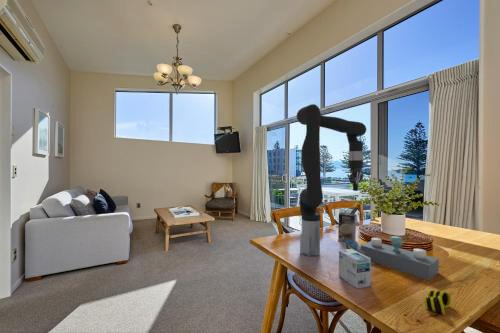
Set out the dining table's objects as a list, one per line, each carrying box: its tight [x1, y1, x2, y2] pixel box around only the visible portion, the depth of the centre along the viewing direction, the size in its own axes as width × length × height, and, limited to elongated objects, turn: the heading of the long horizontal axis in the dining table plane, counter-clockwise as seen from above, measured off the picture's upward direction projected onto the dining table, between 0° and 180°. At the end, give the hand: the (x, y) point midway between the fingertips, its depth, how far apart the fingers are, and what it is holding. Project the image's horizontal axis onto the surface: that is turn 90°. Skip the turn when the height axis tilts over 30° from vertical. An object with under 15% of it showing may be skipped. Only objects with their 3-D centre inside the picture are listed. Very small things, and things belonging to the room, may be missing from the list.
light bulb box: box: [338, 248, 372, 289], centre depth 91 cm, size 11×7×11 cm, turn 17°
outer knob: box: [412, 248, 427, 260], centre depth 99 cm, size 4×4×8 cm
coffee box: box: [337, 211, 357, 243], centre depth 139 cm, size 9×6×16 cm
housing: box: [359, 240, 440, 281], centre depth 106 cm, size 11×28×6 cm, turn 36°
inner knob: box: [370, 237, 383, 247], centre depth 114 cm, size 4×4×8 cm
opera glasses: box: [423, 289, 452, 316], centre depth 75 cm, size 10×5×5 cm, turn 130°
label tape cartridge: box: [345, 238, 365, 255], centre depth 103 cm, size 9×4×12 cm, turn 9°
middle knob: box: [390, 235, 403, 253], centre depth 106 cm, size 4×4×8 cm
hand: (355, 190), depth 130 cm, fingers closed
